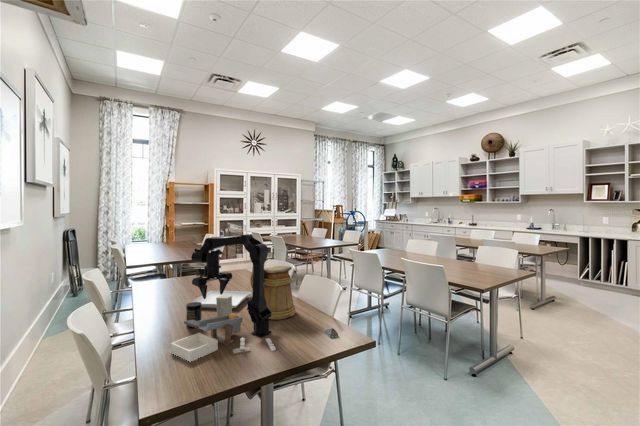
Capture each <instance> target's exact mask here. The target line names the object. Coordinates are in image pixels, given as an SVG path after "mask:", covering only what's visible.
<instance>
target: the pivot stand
mask: <svg viewBox="0 0 640 426" xmlns="http://www.w3.org/2000/svg"><path fill="white" fill-rule="evenodd" d="M208 336H209V337H212V338H214V339H217V340H218V344H221V345H223V346H227V345H229V344H232V343H233V342H234V339H232V338H231V336H232V332H231V324H227V325H225V327H224V336H223V335H221V334H218V330H217V329H214V330H210V335H208Z"/></svg>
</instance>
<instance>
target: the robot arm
mask: <svg viewBox="0 0 640 426" xmlns="http://www.w3.org/2000/svg"><path fill="white" fill-rule="evenodd" d="M239 244H241V245H243V246H244V249H245V250H246V252H248V253H249V258H250V261H251V263H252V273H253V289H252V296H251V298H250V299H248V300H247V301H246V303H247V304H246V305H247V308H246V310H247V312H248V315H249V317H250V319H251V323H253V331H252V332H250V334H251V335H253V336H257V337H260V338H263V337H265V336H267V335H269V334H271V333H272V330H270V319H268V318H270V317H271V315H272V313H271V311H270V310H269V309H268V308H267V304H266V300H265V298H264V295H263V291H264V268H265V263H266V260H267V259H268V254H269V247H268V246H267V245H266V244H265V243H262V242H261V241H260V240H258V239H256V238H254V236H252V235H251V234H248V233H247V234H241V235H237V236H229V237H223V236H212V237H207V238H205V240H204V242H203V244H202V246H201V247H200V248H199V247H197V248H194V251H193V252H192V254H191V261H192V262H193V263H196V264H197V263H198V264H206V265H205V266H204V268H203V269H202V268H201V267H200V268H196V269H195V275H196V277H194V278H192V280H191V285H193V286H195V287H197V288H198V289H199V290H200V293H201V296H203V298H204V299H206V294H207V293H208V284H207V283H208V282H212V281H216V280H218V281H219V291H220V294H223V292H224V291H225V290H226V287H227V285H228V283H230V281H231V280H232V279H233V273H232V272H229V271H222V272H220V269H221V268H222V265H220V255H223V254H224V252H223V251H222V250H221V249H220V248H223V247H225V246H231V245H233V246H234V245H239Z"/></svg>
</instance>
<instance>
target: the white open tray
mask: <svg viewBox="0 0 640 426" xmlns="http://www.w3.org/2000/svg"><path fill="white" fill-rule="evenodd" d="M209 336H210V335H207V334H204V333H201V332H196V333H193V334H191V335H188V336H186V337H183V338H180V339H178V340H175V341H173V342H171V343H170V354H171V353H172V355H173V354H174V356H175V355H176V356H175V357H177V356H179V357H181V358H180V359H182V358H183V359H182V360H184V359H185V360H184V361H186V360H187V361H186V362H188V361H189V362H188V363H192V362H194V361H197V360H199V359H201V358H202V357H205V356H208V355H209V354H212V353H214V352H216V351H218V350H219V349H218V348H219V347H218V346H219V345H218V344H219V343H218V340H217V339H214V338H212V337H209ZM179 357H178V358H179ZM200 357H201V358H200ZM198 358H199V359H198ZM191 361H192V362H191Z"/></svg>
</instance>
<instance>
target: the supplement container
mask: <svg viewBox="0 0 640 426" xmlns="http://www.w3.org/2000/svg"><path fill="white" fill-rule="evenodd" d="M202 309H203V308H202V303H201V302H192V301H191V302H189V303H187V304H186V306H185V310H186V311H185V312H186V315H185V317H186V319H185V321H188V320H195V321H200V320H203V319H202V318H203V317H202V312H203V311H202ZM185 326H186V328H188V329H196V328H195V327H192V326H189V325H187V324H185Z"/></svg>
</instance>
